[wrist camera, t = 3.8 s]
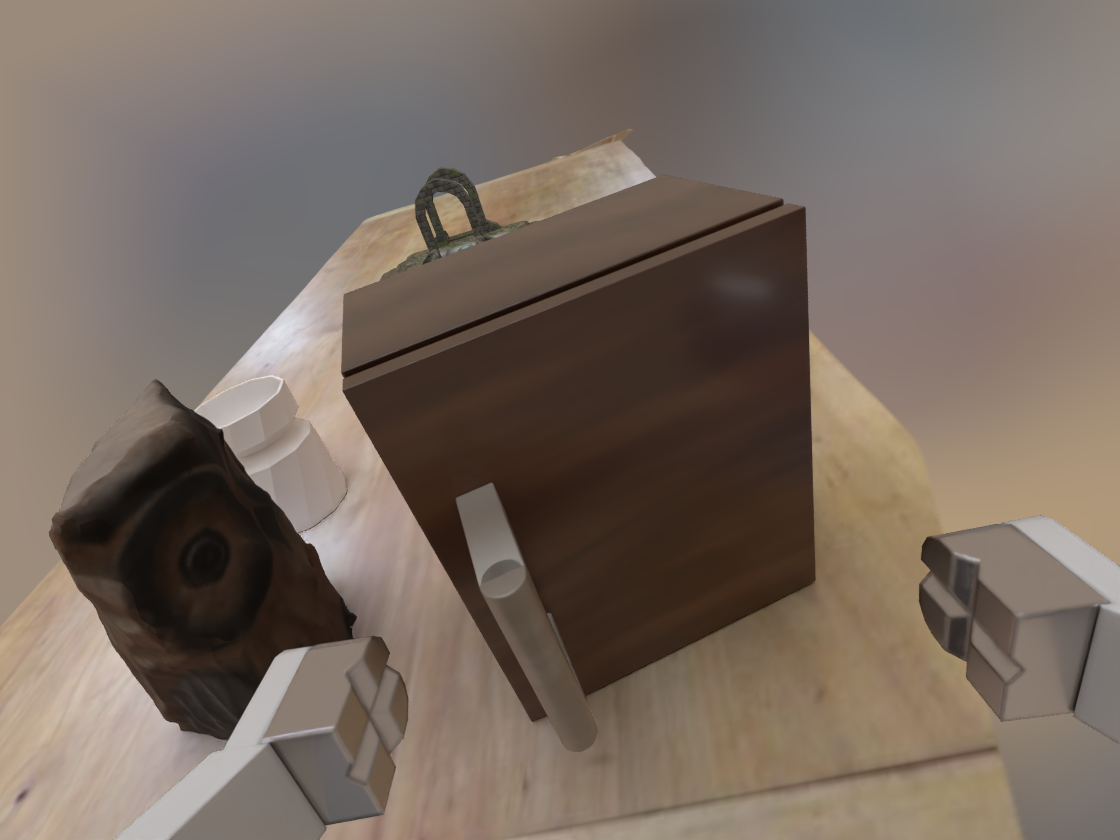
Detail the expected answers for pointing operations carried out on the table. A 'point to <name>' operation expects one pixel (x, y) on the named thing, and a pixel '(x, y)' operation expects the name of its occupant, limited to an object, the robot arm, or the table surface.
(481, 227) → the archway
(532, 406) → the door
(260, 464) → the vase
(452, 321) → the cupboard
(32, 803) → the table surface
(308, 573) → the owl
